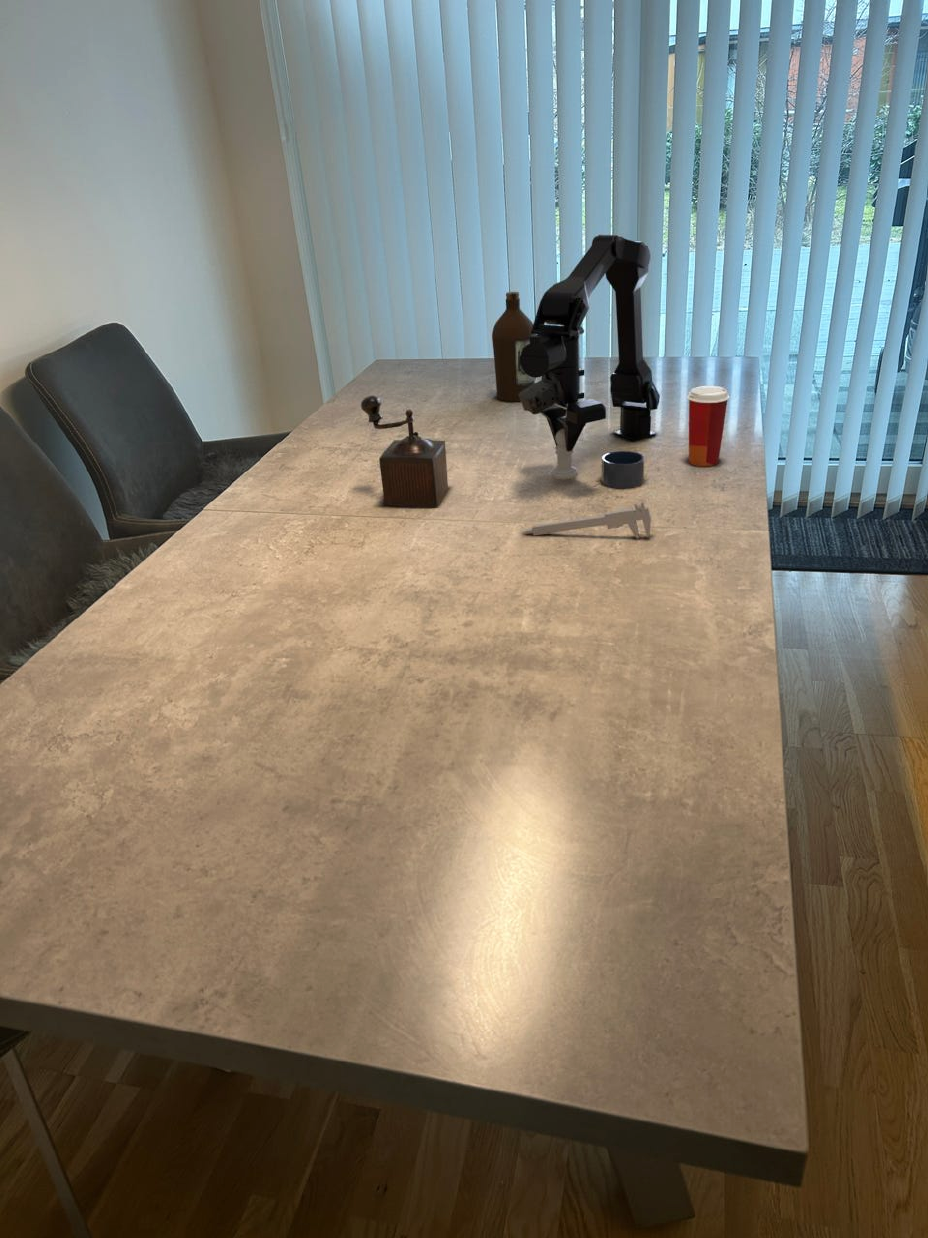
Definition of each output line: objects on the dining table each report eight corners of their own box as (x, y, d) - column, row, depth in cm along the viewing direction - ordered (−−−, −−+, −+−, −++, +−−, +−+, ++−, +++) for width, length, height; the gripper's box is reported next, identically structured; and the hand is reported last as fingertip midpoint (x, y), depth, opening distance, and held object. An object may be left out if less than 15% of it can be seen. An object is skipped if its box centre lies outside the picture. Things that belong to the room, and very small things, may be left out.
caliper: (650, 536, 145) (651, 500, 142) (649, 539, 144) (651, 502, 141) (525, 532, 149) (525, 497, 146) (524, 535, 148) (524, 499, 145)
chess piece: (584, 474, 169) (584, 427, 164) (566, 482, 166) (566, 435, 161) (561, 468, 172) (561, 423, 168) (544, 476, 169) (543, 430, 165)
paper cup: (720, 454, 177) (726, 384, 170) (726, 467, 170) (733, 394, 164) (680, 455, 178) (684, 385, 171) (685, 468, 171) (689, 396, 165)
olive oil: (485, 398, 224) (481, 294, 212) (514, 389, 230) (511, 287, 218) (516, 405, 217) (513, 297, 205) (545, 395, 223) (544, 290, 211)
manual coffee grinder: (451, 486, 170) (444, 392, 162) (437, 507, 161) (430, 409, 152) (373, 484, 174) (363, 392, 165) (356, 506, 164) (344, 409, 155)
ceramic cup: (593, 479, 169) (593, 456, 167) (626, 471, 172) (627, 448, 170) (618, 491, 163) (618, 467, 161) (651, 482, 166) (652, 458, 164)
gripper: (498, 362, 163) (501, 444, 171) (554, 382, 148) (555, 471, 156) (549, 352, 167) (550, 433, 175) (608, 370, 153) (607, 458, 160)
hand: (564, 448), depth 166 cm, fingers closed on chess piece, 3 cm apart
